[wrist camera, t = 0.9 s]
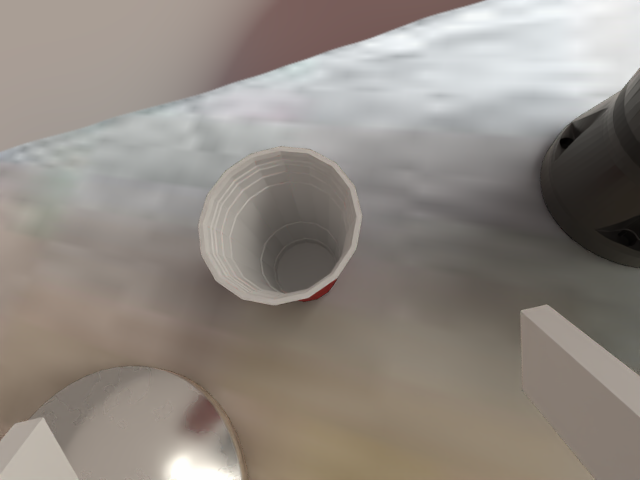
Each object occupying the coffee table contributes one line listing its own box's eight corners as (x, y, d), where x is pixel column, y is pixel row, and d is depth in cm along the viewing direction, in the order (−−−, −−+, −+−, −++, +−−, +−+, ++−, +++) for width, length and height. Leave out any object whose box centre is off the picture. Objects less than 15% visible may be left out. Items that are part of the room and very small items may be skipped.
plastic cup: (227, 305, 36) (162, 264, 25) (277, 204, 39) (240, 128, 28) (337, 353, 33) (320, 331, 22) (382, 240, 36) (387, 172, 25)
